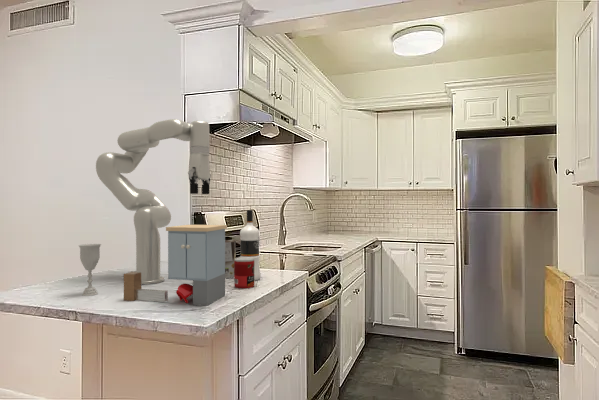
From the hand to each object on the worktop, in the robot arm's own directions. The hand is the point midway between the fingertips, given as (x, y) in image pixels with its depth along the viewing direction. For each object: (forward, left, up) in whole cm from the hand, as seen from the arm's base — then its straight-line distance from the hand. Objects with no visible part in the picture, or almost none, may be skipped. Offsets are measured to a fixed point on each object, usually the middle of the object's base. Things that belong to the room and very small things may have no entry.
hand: (200, 193), depth 162 cm
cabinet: (+11, -23, -37) cm, 45 cm away
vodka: (+16, +14, -37) cm, 43 cm away
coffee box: (+4, +18, -37) cm, 41 cm away
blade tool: (-5, -28, -37) cm, 47 cm away
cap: (+9, -25, -37) cm, 46 cm away
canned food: (+19, 0, -37) cm, 42 cm away
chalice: (-31, -25, -37) cm, 54 cm away
